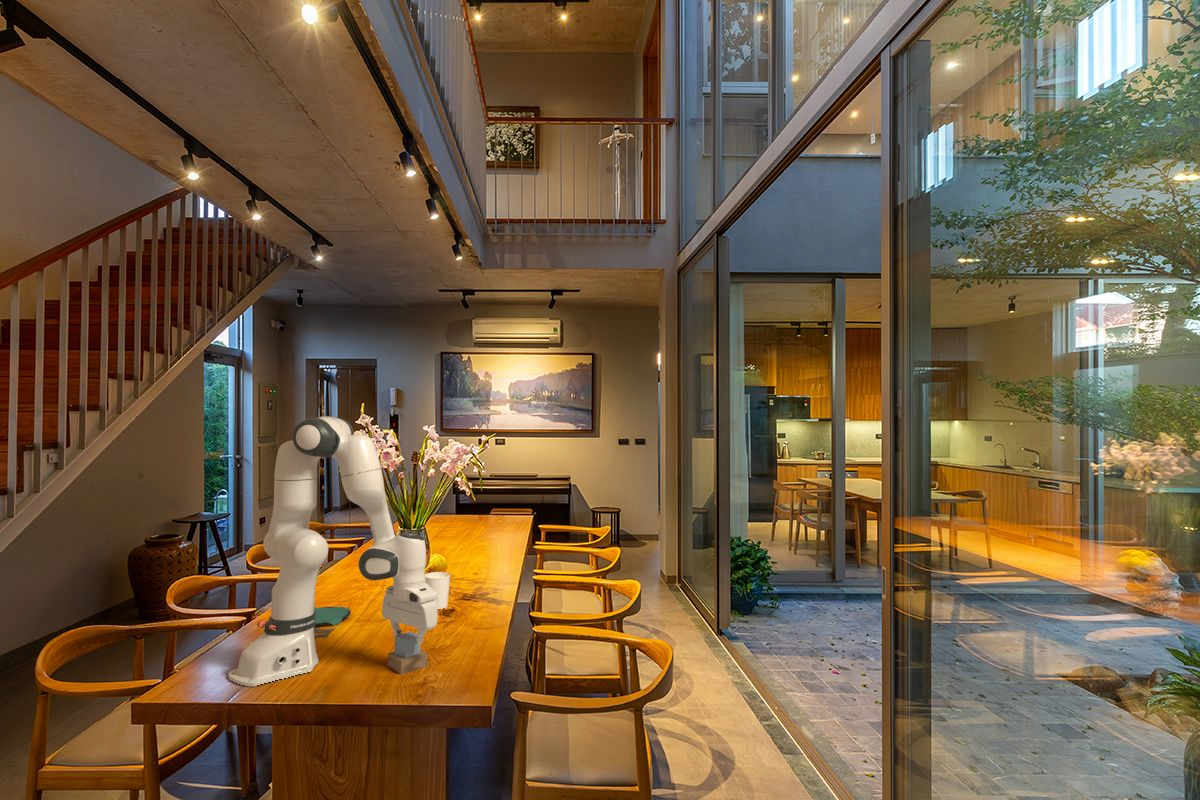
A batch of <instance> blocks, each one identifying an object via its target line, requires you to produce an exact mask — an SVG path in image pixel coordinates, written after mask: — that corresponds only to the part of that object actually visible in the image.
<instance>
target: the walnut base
mask: <svg viewBox="0 0 1200 800" xmlns="http://www.w3.org/2000/svg"><path fill="white" fill-rule="evenodd" d="M394 653H395V651H392V652H388V653H387V667H388V668H389V669H391V670H393V671H394V670H395V671H394V672H397V674H399V675H404V674H408V673H412V672H414V671H418V670H422V669H426V668H428V660H429V659H428V658H429V657H428V656H429V655H428V653H427V652H424V651H423V650H422V649H420V653H418V654H416V655H413V656H410V657H407V658H404V657H401V656H399V655H396V654H394Z"/></svg>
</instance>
